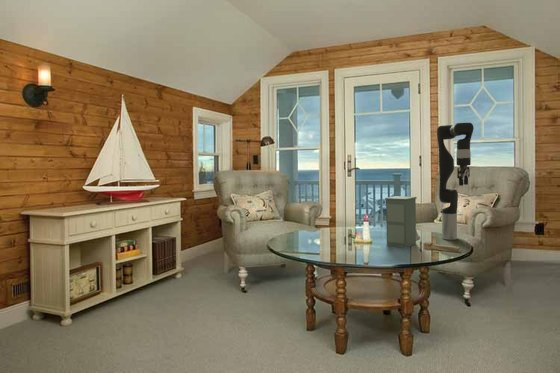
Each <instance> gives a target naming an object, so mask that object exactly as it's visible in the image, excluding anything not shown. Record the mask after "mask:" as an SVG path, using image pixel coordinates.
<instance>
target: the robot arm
mask: <svg viewBox="0 0 560 373" xmlns="http://www.w3.org/2000/svg"><path fill="white" fill-rule="evenodd" d="M473 133H474V125H473V123H472V122H457V123H455V124H454V125H453V124H447V125H439V126H438V127H437V128H436V138H437V148H438V170H439V187H438V188H439V191H438V192H439V193H438V196H439V201H440V203H443V204H447V203H448V204H449V206H447V207H443V208H442V210H441V238H442V240H450V241H454V240H455V241H456V240H457V239H458V203H459V202H458V200H459V194H458V193H459V192H458V190H457V189H454V188H450V189H449V188H447V183H448V181H449V179H450V178H451V176H452V174H453V172H454V170H455V162H454V161H455V160H454V157H453V156H452V154H451V153H450V152H449V150H448V149H447V147H446V145H445V140H451V139H454V138H456V137H459V136H464V138H461V139H458V140H456V167H457V166H459V167H457V170H456V171H457V172H456V173H457V174H456V176H457V179H458V186H459V187H460V186H461V187H462V186H465V185H469V178H470V171H471V169H470V168H471V167H469V166H471V164H472V163H471V162H472V161H471V159H472V157H471V140H472V135H473Z"/></svg>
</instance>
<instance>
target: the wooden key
mask: <svg viewBox="0 0 560 373" xmlns="http://www.w3.org/2000/svg"><path fill="white" fill-rule="evenodd" d="M422 247H423V249H425V250H426V249H427V250H436V249H437V250H436V251H447V252H454V253H460V252H461V246H454V245H445V244H434V241H425V242H423V246H422Z"/></svg>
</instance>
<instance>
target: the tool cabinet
mask: <svg viewBox="0 0 560 373" xmlns="http://www.w3.org/2000/svg"><path fill="white" fill-rule="evenodd" d="M384 200H385V203H386V206H385V209H386V210H385V211H386V214H385V215H386V218H385V219H386V246H389V247H398V248H405V249H407V248H409V247H412V246H414V245H417V240H416V231H417V227H416V226H417V224H416V223H417V214H416V213H417V210H416V208H417V206H416V204H417V202H416V200H417V196H400V195H399V196H398V195H394V196H388V197H385V198H384Z"/></svg>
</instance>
